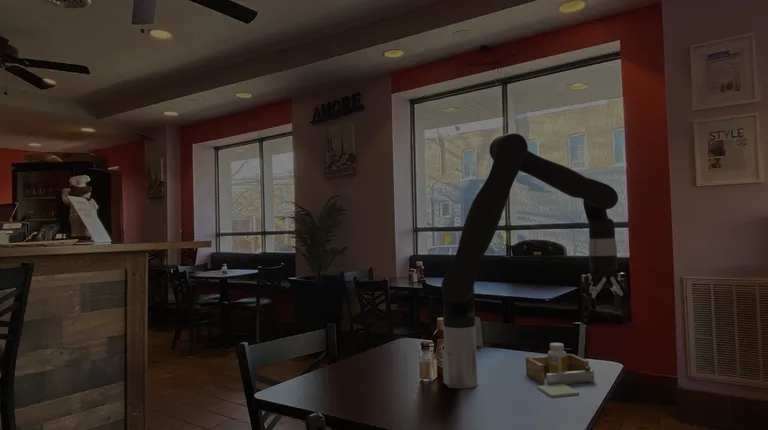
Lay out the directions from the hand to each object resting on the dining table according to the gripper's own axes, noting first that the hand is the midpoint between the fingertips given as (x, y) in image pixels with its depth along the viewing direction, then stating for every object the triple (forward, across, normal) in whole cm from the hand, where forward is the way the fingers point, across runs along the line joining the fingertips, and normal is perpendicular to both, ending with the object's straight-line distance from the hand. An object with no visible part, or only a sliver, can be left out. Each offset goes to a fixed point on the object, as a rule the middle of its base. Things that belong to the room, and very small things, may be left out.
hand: (605, 309), depth 152 cm
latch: (+20, -13, -1) cm, 24 cm away
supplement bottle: (+20, -13, +6) cm, 25 cm away
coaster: (+20, -20, -6) cm, 29 cm away
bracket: (+20, -13, +6) cm, 25 cm away
